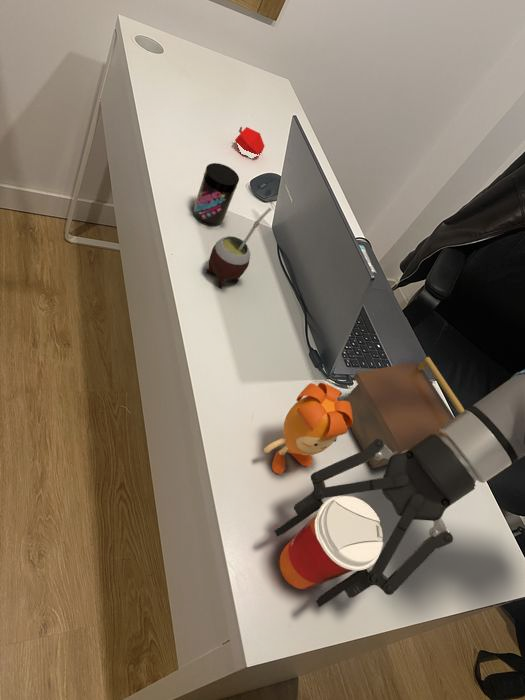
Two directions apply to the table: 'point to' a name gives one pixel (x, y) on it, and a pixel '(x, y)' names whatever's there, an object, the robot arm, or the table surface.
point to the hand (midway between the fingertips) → (298, 566)
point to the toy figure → (312, 425)
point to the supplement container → (215, 193)
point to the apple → (250, 140)
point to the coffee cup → (333, 543)
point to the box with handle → (398, 406)
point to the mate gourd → (231, 256)
